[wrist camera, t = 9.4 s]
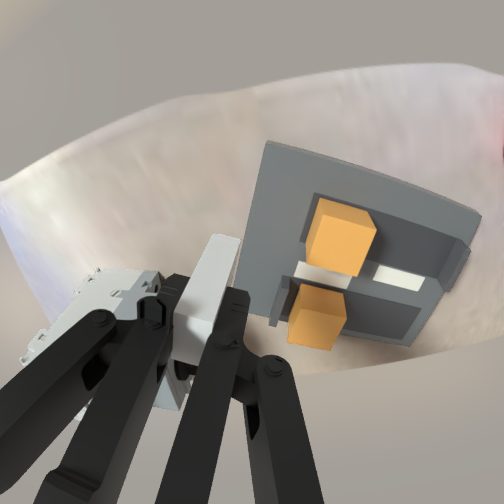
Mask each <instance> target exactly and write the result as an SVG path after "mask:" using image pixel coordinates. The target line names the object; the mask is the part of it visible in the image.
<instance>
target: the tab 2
mask: <svg viewBox="0 0 504 504" xmlns="http://www.w3.org/2000/svg"><path fill="white" fill-rule="evenodd" d="M346 320H347V315H346V309H345V303H344V297H343V293H339V292H335V291H330V290H326V289H322V288H318V287H314V286H310V285H306V284H302V283H301V285H300V288H299V290H298V293H297V296H296V299H295V301H294V304H293V307H292V309H291V312H290V315H289V321H288V335H287V342H289V343H293V344H298V345H303V346H307V347H312V348H317V349H322V350H327V351H330V350H331V348H332V346H333V344H334V342H335V341H336V339H337V337H338V335H339V333H340V331H341V329H342V327H343V325H344V323H345V322H346Z"/></svg>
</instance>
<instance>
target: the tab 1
mask: <svg viewBox="0 0 504 504" xmlns="http://www.w3.org/2000/svg"><path fill="white" fill-rule="evenodd" d="M376 231H377V229H376V227H375V225H374V223H373V222H372V220H371V218H370V216H369V214H368V212H367V211H364V210H361V209H358V208H354V207H351V206H348V205H344V204H341V203H337V202H334V201H330V200H327V199H323V198H320V199H319V202H318V205H317V208H316V211H315V215H314V218H313V221H312V224H311V227H310V230H309V233H308V236H307V239H306V264H308V265H312V266H316V267H319V268H323V269H327V270H331V271H335V272H339V273H343V274H347V275H351V276H355V277H357V275H358V273H359V271H360V269H361V266H362V264H363V262H364V260H365V257H366V255H367V252H368V250H369V248H370V245H371V243H372V241H373V238H374V236H375V233H376Z"/></svg>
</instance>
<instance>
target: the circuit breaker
mask: <svg viewBox="0 0 504 504" xmlns="http://www.w3.org/2000/svg"><path fill="white" fill-rule="evenodd" d="M94 271H95V273H94V274H93V275H88V277H87V278H86V279H85V280H84V281H83V282H82V283H81V284H80V285H79V286H78V287H77V288H76V290H75V293H76V298H75V299H74V300H73V301H72V302H71V303H70V305H69V306H68V307H67V308H66V309H65V310H64V312H63V313H62V314H61V315H60V316H59V317H58V319H57V320H56V321H55V322H54V323H53V325H52V326H51V327H50V328H49V330H47V329H41V330H40V331H39V332H38V334H37V335H36V336H35V337H34V339H33V340H32V341H31V342H30V343H29V345H28V347H27V348H28V350H29V351H28V353H27V354H26V356H25V357H24V358H23V357H21V358H20V359H19V360H20V362H21V363H22V364H23V366H24V368H25V367H26V366H27V365H28V364H29V363H30V362H31V361H32V360H34V359H35V358H36V357H37V356H38V355H39V354H40V353H42V352H43V351H44V350H45V349H46V348H47V347H48V346H50V345H51V344H52V343H53V342H54V341H55V340H57V339H58V338H59V337H60V336H61V335H62V334H64V333H65V332H66V331H67V330H68V329H70V328H71V327H72V326H73V325H74V324H75V323H77V322H78V321H79V320H80V319H81V318H83V317H84V316H85V315H86V314H88V313H89V312H91V311H92V310H95V309H106V310H109V311H111V312H112V313H113V314H114V315H115V317H116V319H119V320H134V319H137V301H138V300H139V299H141V298H143V297H145V296H156V295H157V294H158V292H159V290H160V289H161V283H160V278H159V274H158V271H144V270H125V269H108V268H105V269H104V270H103V271H100V270H99V268H95V269H94ZM90 280H94V281H93V282H89V281H90ZM42 336H43V338H44V341H42V340H39V339H40V338H41V337H42ZM197 368H198V366H196V365H192V364H188V363H185V362H181V361H178V360H174V359H171V354H170V356H169V359H168V367H167V370H166V373H165V375H164V378H163V380H162V383H161V385H160V388H159V391H158V393H157V396H156V398H155V401H154V403H153V407H158V408H163V409H169V410H175V411H179V410H180V408H181V405H182V403H183V400H184V397H185V394H186V393H190V390H191V385H190V380H191V377H192V375H196V372H197ZM91 400H92V399H91ZM91 400H90V401H89V402H88V403H87V404H86V405H85V407H84V408H83V409H82V410H81V411H80V412H79V413H78V414H77V415H76V416H75V417H74V419H77V420H80V421H81V420H82V418H83V416H84V414H85V412H86V410H87V408H88V406H89V404H90V402H91Z"/></svg>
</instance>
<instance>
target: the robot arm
mask: <svg viewBox="0 0 504 504" xmlns="http://www.w3.org/2000/svg"><path fill="white" fill-rule="evenodd" d="M240 242H241V239H238V238H234V237H229V236H225V235H221V234H217V233H213V235H212V237H211V239H210V241H209V242H208V244H207V246H206V248H205V250H204V252H203V254H202V256H201V258H200V260H199V262H198V264H197V266H196V268H195V270H194V272H193V274H192V276H191V278H190V277H186V276H183V275H179V274H175V273H174V274H173V275H171V276H170V277H168V278H167V279H166V280H165V282H164V284H163V286H162V287H161V289H160V290H159V292H158V294H157V295H156V296H145V297H143V298H141V299H139V300H138V301H137V319H134V320H119V319H116V317H115V315H114V314H113V313H112V312H111V311H109V310H106V309H95V310H92V311H91V312H89V313H88V314H86V315H85V316H84V317H83V318H81V319H80V320H79V321H78V322H77V323H75V324H74V325H73V326H72V327H71V328H70V329H68V330H67V331H66V332H65V333H64V334H62V335H61V336H60V337H59V338H58V339H57V340H55V341H54V342H53V343H52V344H51V345H50V346H48V347H47V348H46V349H45V350H44V351H43V352H42V353H40V354H39V355H38V356H37V357H36V358H35V359H34V360H32V361H31V362H30V363H29V364H28V365H27V366H26V367H25V368H24V369H22V370H21V371H20V372H19V373H18V374H17V375H16V376H15V377H14V378H12V379H11V380H10V381H9V382H8V383H7V384H6V385H5V386H4V387H3V388H2V389H1V390H0V494H2V493H4V492H5V491H6V490H8V489H9V488H11V487H12V486H13V485H14V484H15V483H16V482H17V481H18V480H19V479H20V478H21V476H22V475H23V474H24V473H25V472H26V471H27V469H29V468H30V466H31V465H32V464H33V463H34V462H35V461H36V460H37V458H38V457H39V456H40V455H41V454H42V453H43V452H44V451H45V450H46V448H47V447H48V446H49V445H50V444H51V443H52V442H53V441H54V439H55V438H56V437H57V436H58V435H59V434H60V433H61V432H62V431H63V430H64V428H65V427H66V426H67V425H68V424H69V423H70V422H71V421H72V420H73V419H74V417H75V416H76V415H77V414H78V413H79V412H80V411H81V410H82V409H83V408H84V407H85V405H86V404H87V403H88V402H89V401H90V400H91V399H92V400H91V402H90V404H89V406H88V408H87V410H86V412H85V414H84V416H83V418H82V420H81V422H80V424H79V426H78V428H77V430H76V432H75V434H74V436H73V438H72V440H71V442H70V444H69V446H68V448H67V450H66V452H65V454H64V456H63V459H62V461H61V463H60V465H59V466H58V467H57V468H56V469H54V470H52V471H50V472H49V473H48V474H47V475H46V477H45V479H44V480H43V482H42V484H41V487H40V489H39V491H38V494H37V496H36V498H35V500H34V503H33V504H116V503H117V500H118V497H119V495H120V492H121V489H122V486H123V483H124V480H125V478H126V475H127V472H128V469H129V467H130V464H131V461H132V459H133V456H134V453H135V450H136V448H137V445H138V442H139V440H140V436H141V435H142V432H143V429H144V427H145V424H146V421H147V419H148V416H149V413H150V411H151V408H152V406H153V403H154V401H155V398H156V396H157V393H158V391H159V388H160V385H161V383H162V380H163V378H164V375H165V373H166V370H167V367H168V359H169V356H170V354H171V359H174V360H178V361H181V362H185V363H188V364H192V365H196V366H198V368H197V372H196V375H195V378H194V381H193V384H192V387H191V390H190V393H189V397H188V399H187V403H186V405H185V409H184V412H183V415H182V418H181V421H180V424H179V427H178V431H177V434H176V437H175V440H174V443H173V446H172V450H171V453H170V456H169V459H168V462H167V465H166V469H165V472H164V475H163V478H162V482H161V485H160V488H159V491H158V495H157V498H156V501H155V504H208V500H209V495H210V491H211V486H212V482H213V477H214V473H215V468H216V464H217V459H218V455H219V450H220V446H221V441H222V436H223V431H224V427H225V423H226V418H227V413H228V409H229V404H230V399H231V397H232V398H234V399H236V400H238V401H240V402H241V403H243V410H244V419H245V427H246V435H247V443H248V451H249V459H250V467H251V475H252V483H253V490H254V497H255V504H324V501H323V497H322V492H321V488H320V484H319V480H318V476H317V471H316V467H315V463H314V459H313V454H312V450H311V446H310V442H309V438H308V434H307V430H306V426H305V421H304V417H303V413H302V409H301V405H300V401H299V397H298V393H297V389H296V385H295V381H294V377H293V373H292V369H291V367H290V365H289V363H288V362H287V361H286V360H285V359H283V358H281V357H279V356H276V355H266V356H263V357H262V358H261V357H259V356H257V355H255V354H253V353H252V352H250V351H249V350H248V349H247V348H246V346H245V345H244V342H243V335H244V330H245V325H246V320H247V316H248V311H249V306H250V301H251V298H250V296H249V293H248V291H244V290H240V289H236V288H232V287H230V286H231V282H232V279H233V274H234V269H235V265H236V260H237V255H238V251H239V246H240Z"/></svg>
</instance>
